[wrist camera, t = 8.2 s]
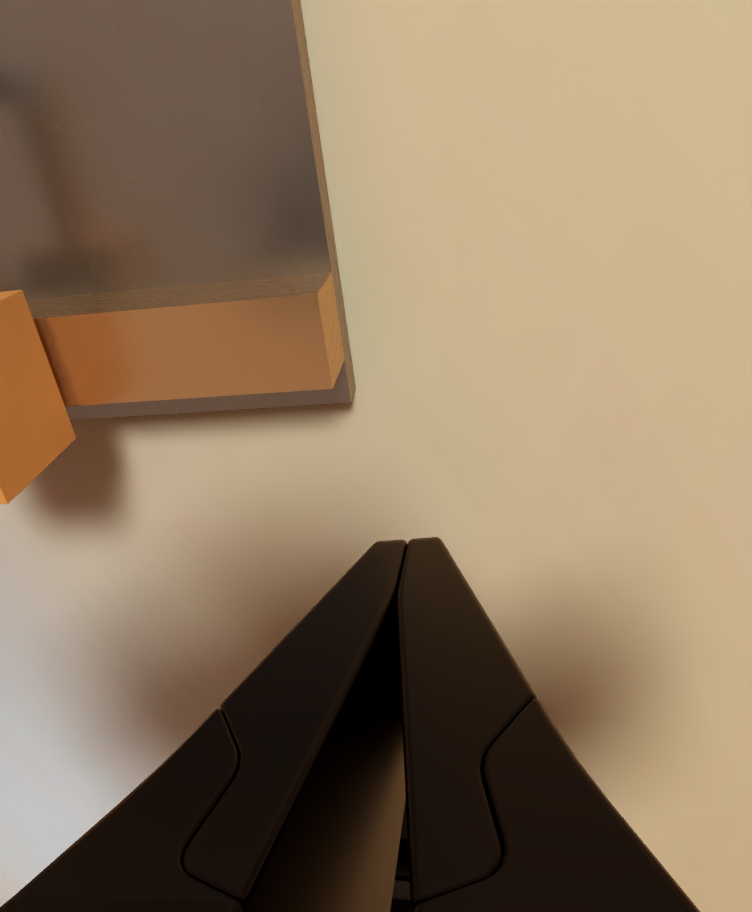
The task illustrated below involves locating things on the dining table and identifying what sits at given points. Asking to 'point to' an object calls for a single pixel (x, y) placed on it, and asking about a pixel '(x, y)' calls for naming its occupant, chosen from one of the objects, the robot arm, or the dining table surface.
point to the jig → (170, 205)
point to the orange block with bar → (26, 400)
